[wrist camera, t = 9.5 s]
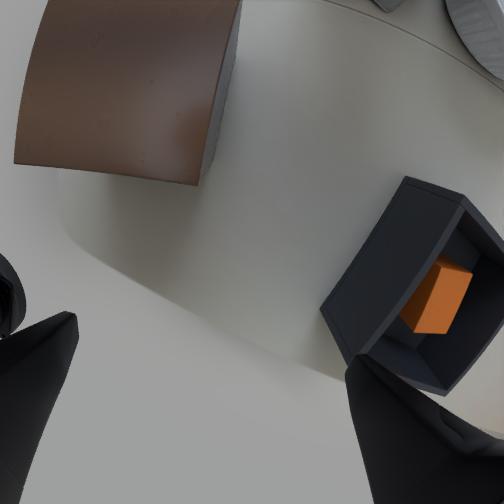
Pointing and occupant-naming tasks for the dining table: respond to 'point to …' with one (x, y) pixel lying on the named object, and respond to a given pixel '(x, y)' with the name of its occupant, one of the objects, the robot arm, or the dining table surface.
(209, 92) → the stand
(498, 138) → the dining table surface
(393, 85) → the dining table surface
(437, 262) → the orange block
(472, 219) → the open box
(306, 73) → the dining table surface
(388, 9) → the cosmetic box
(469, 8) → the ramekin
